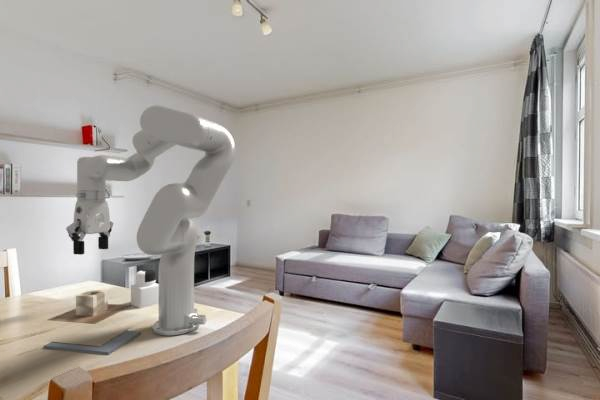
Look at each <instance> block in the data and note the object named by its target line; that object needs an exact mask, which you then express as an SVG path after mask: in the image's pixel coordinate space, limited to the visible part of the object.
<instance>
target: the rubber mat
mask: <svg viewBox="0 0 600 400" xmlns="http://www.w3.org/2000/svg"><path fill="white" fill-rule="evenodd" d="M141 334H142V331H140V330H139V331H136V330H125V331H123V332H122V333H120V334H119V335H117V336H115V337H113V338H111V339H110V340H108V341H107V342H105V343H103V344H102V345H91V344H80V343H71V342H70V343H68V342H59V341H58V342H57V341H50V342H48V343H46V344H44V345H43V349H48V350H57V351H58V350H59V351H69V352H77V353H78V352H79V353H87V354H90V353H91V354H99V355H110V354H112V353H113V352H115V351H116V350H118V349H120V348H121V347H122V346H124V345H125V344H128V343H129V342H130V341H132V340H133V339H135V338H137V337H138V336H140V335H141Z"/></svg>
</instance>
